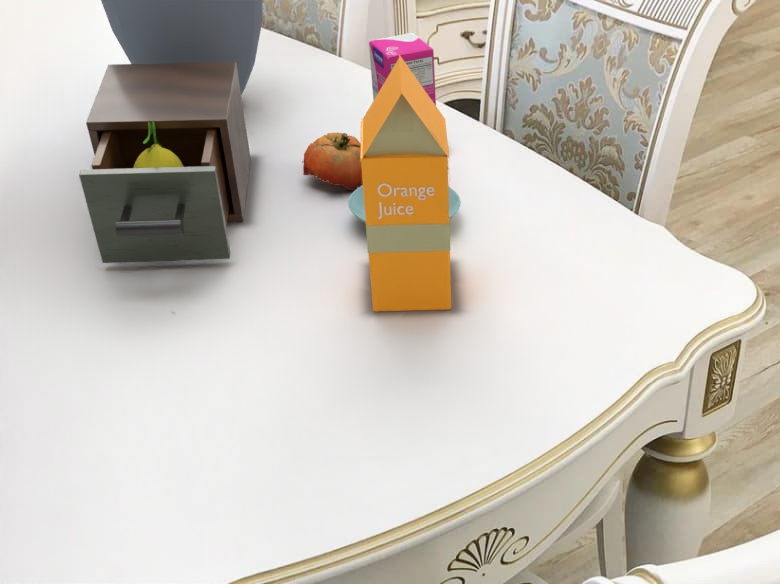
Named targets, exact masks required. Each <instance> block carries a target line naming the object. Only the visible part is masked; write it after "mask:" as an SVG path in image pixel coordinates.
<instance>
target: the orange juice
mask: <svg viewBox="0 0 780 584" xmlns="http://www.w3.org/2000/svg"><path fill="white" fill-rule="evenodd" d="M447 133H448V132H447V121H446V118H445V116H444V115H443V114H442V113H441V111H440V110H439V108H438V107H437V104H436V105H435V104H434V103H433V101H432V100H431V98H430V97H429V96H428V94H427V93H426V91H425V90H424V89H423V87H422V86H421V84H420V83H419V81H418V80H417V79H416V77H415V76H414V74H413V73H412V72H411V70H410V69H409V67H408V66H407V65H406V63H405V62H404V60H403V59H402V57H401V56H400V55H399V59H398V61H397V62H396V64H395V66H394V67H393V69H392V71H391V72H390V74H389V76H388V77H387V79H386V81H385V82H384V84H383V86H382V88H381V89H380V91H379V93H378V94H377V96H376V98H375V99H374V100H373V101H372V103H371V104H370V106H369V108H368V110H367V111H366V112H365V115H364V116H363V118H361V121H360V161H361V168H362V181H363V183H362V184H363V186H362V187H363V193H364V205H365V217H366V224H365V234H366V246H367V253H368V265H369V277H370V278H369V279H370V288H371V289H370V290H371V291H370V292H371V301H372V312H404V311H438V310H439V311H441V310H443V311H444V310H452V277H451V276H452V275H451V273H452V272H451V223H450V219H449V195H450V194H449V192H448V187H449V182H451V181H450V179H449V177H450V176H451V175H450V167H449V166H450V165H449V159H450V151H449V141H448V134H447ZM449 190H450V189H449Z"/></svg>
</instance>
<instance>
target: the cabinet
mask: <svg viewBox="0 0 780 584" xmlns="http://www.w3.org/2000/svg"><path fill="white" fill-rule="evenodd" d="M96 93H97V94H96V96H95V99H94V101H93V104H92V107H91V109H90V112H89V114H88V117H87V120H86V122H85V123H86V127H87V132H88V135H89V139H90V142H91V147H92V150H93V155H94V156H95V154H96V151H97V148H98V145H99V143H100V140H101V137H102V134H103V131H104V130H133V129H149V126H148V122H150V123H151V125H152V121H153V122H154V123H155V129H173V128H213V127H220V132H221V138H222V144H223V150H224V156H225V162H226V167H227V173H228V179H229V185H230V191H231V199H230V206H229V213H228V220H227V223H229V222H230V223H231V222H232V223H235V222H244V218H245V209H246V202H247V201H246V200H247V192H248V184H249V178H250V177H249V175H250V167H251V162H252V161H251V159H252V157H251V152H250V144H249V138H248V133H247V126H246V125H247V124H246V118H245V112H244V104H243V99H242V95H241V91H240V85H239V78H238V72H237V65H236V62H213V63H162V64H131V63H122V64H121V63H120V64H119V63H118V64H117V63H115V64H113V63H112V64H107V67H106V70H105V72H104V75H103V78H102V80H101V84H100V86H99V88H98V91H97V92H96ZM152 127H153V126H152Z"/></svg>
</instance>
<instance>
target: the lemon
mask: <svg viewBox="0 0 780 584" xmlns="http://www.w3.org/2000/svg"><path fill="white" fill-rule="evenodd" d="M148 126H149V134H148V137H147V138H146V139H145V141H144V142H143V144H145V143H147V142H148V140H149V139H150V135H151V134H152V133H153V136H154V145H152V147H151V148H148V149H146V150H145V151H143V152H142V153H141V154H140V155H139V157H138V158H137V160H136V162H135V164H134V167H133V168H162V167H184V166H183V164H182V162H181V161H180V159H179V158H178V157H177V156H176V155H175V154H174V153H173V152H171V151H170V150H168V149H165V148H164V147H163V146H162V145H161V144H159V142H158V140H157V138H156V131H155V123H154V122H153V121H152V125H151V123H150V122H148ZM152 126H153V127H152Z"/></svg>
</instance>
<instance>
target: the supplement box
mask: <svg viewBox="0 0 780 584" xmlns="http://www.w3.org/2000/svg"><path fill="white" fill-rule="evenodd" d="M368 49H369V61H370V62H369V63H370V73H371V88H372V97H373V98H372V99H373V101H374V99H375V98H376V96H377V94H378V93H379V91H380V89H381V88H382V86H383V84H384V82H385V81H386V79H387V77H388V76H389V74H390V72H391V71H392V69H393V67H394V66H395V64H396V62H397V61H398V59H399V55H400V56H401V57H402V59H403V60H404V62H405V63H406V65H407V66H408V67H409V69H410V70H411V72H412V73H413V74H414V76H415V77H416V79H417V80H418V81H419V83H420V84H421V86H422V87H423V89H424V90H425V91H426V93H427V94H428V96H429V97H430V98H431V100H432V101H433V103H434V104H435V105H436V106H437V100H436V96H437V95H436V78H435V75H436V74H435V53H434V48H433V47H431V46H430V45H429V44H427V42H425V41H424V40H423V39H421V38H420V37H419V36H418V35H417V34H416V33H414V32H407V33H403V34H398V35H393V36H387V37H382V38H375V39H370V40H368Z"/></svg>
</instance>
